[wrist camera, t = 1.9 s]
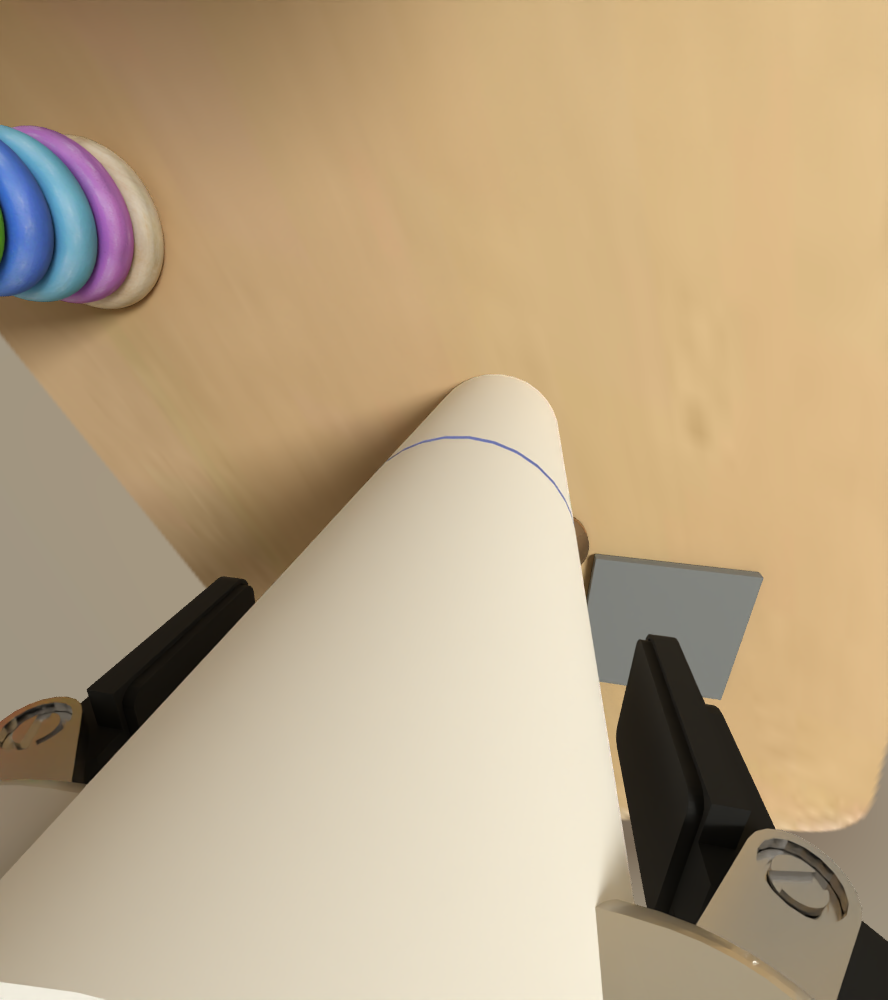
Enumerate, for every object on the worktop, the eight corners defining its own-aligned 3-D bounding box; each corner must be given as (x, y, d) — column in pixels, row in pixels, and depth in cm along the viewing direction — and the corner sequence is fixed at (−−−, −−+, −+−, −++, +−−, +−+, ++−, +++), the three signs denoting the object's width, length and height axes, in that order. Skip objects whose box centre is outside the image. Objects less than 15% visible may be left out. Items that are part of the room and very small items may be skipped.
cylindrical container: (522, 348, 25) (355, 929, 2) (580, 465, 26) (837, 1462, 4) (408, 412, 27) (-254, 1006, 4) (469, 516, 29) (221, 1310, 6)
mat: (594, 553, 28) (596, 558, 28) (758, 572, 27) (763, 577, 26) (573, 671, 32) (574, 677, 31) (717, 692, 31) (720, 699, 30)
